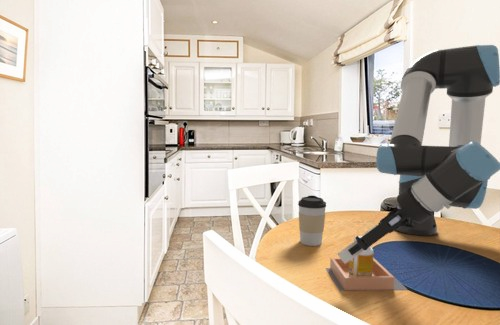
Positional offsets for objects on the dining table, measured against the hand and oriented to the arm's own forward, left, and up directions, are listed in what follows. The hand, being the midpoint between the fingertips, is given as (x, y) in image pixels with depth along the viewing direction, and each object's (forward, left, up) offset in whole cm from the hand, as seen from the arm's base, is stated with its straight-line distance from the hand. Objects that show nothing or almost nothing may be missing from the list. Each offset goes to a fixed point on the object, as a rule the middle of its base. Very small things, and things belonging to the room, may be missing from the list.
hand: (351, 250), depth 82 cm
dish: (-2, +2, -7) cm, 7 cm away
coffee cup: (+4, -25, -7) cm, 27 cm away
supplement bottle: (-2, +2, -6) cm, 7 cm away
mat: (-3, +2, -7) cm, 8 cm away
